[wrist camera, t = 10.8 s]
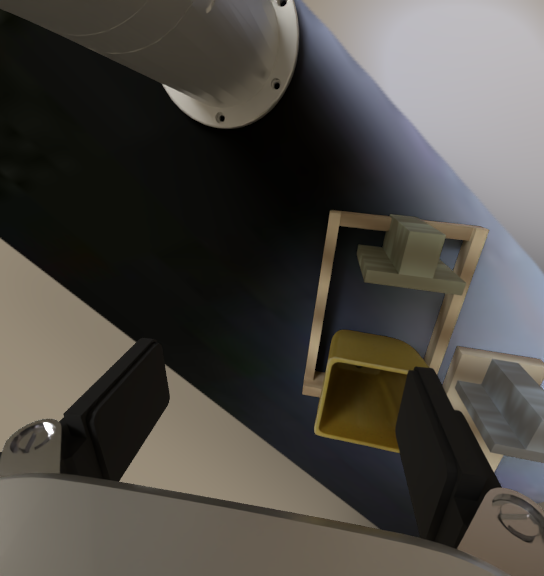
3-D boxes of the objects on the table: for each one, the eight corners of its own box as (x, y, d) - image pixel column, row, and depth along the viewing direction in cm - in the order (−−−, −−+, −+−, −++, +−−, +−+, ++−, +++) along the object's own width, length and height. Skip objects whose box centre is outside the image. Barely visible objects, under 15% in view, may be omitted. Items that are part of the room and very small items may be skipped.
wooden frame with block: (330, 207, 30) (330, 222, 22) (480, 224, 28) (534, 245, 20) (304, 377, 37) (297, 429, 30) (420, 398, 36) (443, 458, 28)
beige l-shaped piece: (456, 345, 32) (502, 412, 24) (539, 359, 31) (619, 433, 23) (414, 459, 39) (438, 543, 30) (482, 473, 38) (526, 564, 29)
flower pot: (329, 309, 34) (328, 357, 25) (412, 323, 32) (440, 377, 24) (317, 374, 37) (313, 435, 29) (391, 389, 36) (410, 456, 28)
